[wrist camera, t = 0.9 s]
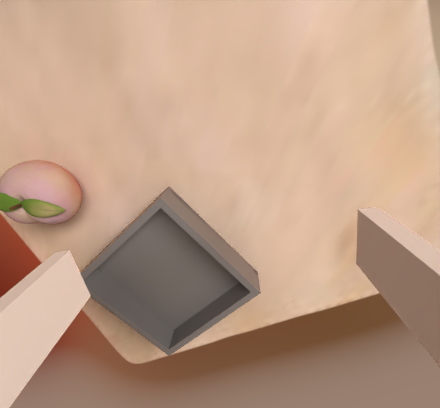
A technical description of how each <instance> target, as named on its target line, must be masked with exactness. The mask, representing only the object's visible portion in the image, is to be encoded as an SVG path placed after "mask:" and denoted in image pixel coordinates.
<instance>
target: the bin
mask: <svg viewBox="0 0 440 408" xmlns="http://www.w3.org/2000/svg"><path fill="white" fill-rule="evenodd" d="M80 274H81V276H82V278H83V280H84V282H85V285H86V287H87V289H88V291H89V293H90V296H91V297H92V298H93V299H94V300H96V301H97V302H98V303H100V304H101V305H102V306H104V307H105V308H106V309H108V310H109V311H110V312H112V313H113V314H114V315H116V316H117V317H118V318H120V319H121V320H122V321H124V322H125V323H126V324H128V325H129V326H130V327H132V328H133V329H134V330H136V331H137V332H138V333H140V334H141V335H142V336H144V337H145V338H146V339H148V340H149V341H150V342H151V343H153V344H154V345H155V346H157V347H158V348H159V349H161V350H162V351H163V352H165V353H166V354H167V355H171V354H172V353H174V352H175V351H177V350H178V349H180V348H181V347H183V346H184V345H185V344H187V343H188V342H190V341H191V340H193V339H194V338H196V337H197V336H199V335H200V334H202V333H203V332H204V331H206V330H207V329H209V328H210V327H212V326H213V325H215V324H216V323H218V322H219V321H220V320H222V319H223V318H225V317H226V316H228V315H229V314H231V313H232V312H234V311H235V310H236V309H238V308H239V307H241V306H242V305H244V304H245V303H247V302H248V301H250V300H251V299H252V298H254V297H255V296H257V295H258V294H260V293H261V292H260V285H259V279H258V273H257V271H256V270H255V269H254V268H253V267H252V266H251V265H250V264H249V263H248V262H247V261H245V260H244V259H243V258H242V257H241V256H240V255H239V254H238V253H237V252H236V251H235V250H234V249H233V248H232V247H231V246H230V245H229V244H228V243H227V242H226V241H225V240H224V239H223V238H222V237H221V236H220V235H219V234H218V233H217V232H216V231H215V230H214V229H212V228H211V227H210V226H209V225H208V224H207V223H206V222H205V221H204V220H203V219H202V218H201V217H200V216H199V215H198V214H197V213H196V212H195V211H194V210H193V209H192V208H191V207H190V206H189V205H188V204H187V203H186V202H185V201H184V200H183V199H182V198H181V197H179V196H178V195H177V194H176V193H175V192H174V191H173V190H172V189H171V188H170V187H168V188H167V189H166V190H165V191H164V192H163V193H162V194H161V195H160V196H159V197H158V198H157V199H156V200H155V201H154V202H153V203H151V204H150V205H149V206H148V207H147V208H146V209H145V210H144V211H143V212H142V213H141V214H140V215H139V216H138V217H137V218H136V219H135V220H134V221H133V222H132V223H131V224H130V225H129V226H128V227H127V228H126V229H125V230H123V231H122V232H121V233H120V234H119V235H118V236H117V237H116V238H115V239H114V240H113V241H112V242H111V243H110V244H109V245H108V246H107V247H106V248H105V249H104V250H103V251H102V252H101V253H100V254H99V255H98V256H96V257H95V258H94V259H93V260H92V261H91V262H90V263H89V264H88V265H87V266H86V268H85V269H84V270H83V271H82V272H81V273H80Z"/></svg>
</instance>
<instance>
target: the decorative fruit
mask: <svg viewBox="0 0 440 408" xmlns="http://www.w3.org/2000/svg"><path fill="white" fill-rule="evenodd" d="M81 202H82V190H81V187H80V185H79V183H78V181H77V180H76V178H75V177H74V176H73V175H72V174H71V173H70V172H69V171H67V170H66V169H65V168H63V167H61V166H59V165H58V164H55V163H52V162H48V161H40V160H34V161H27V162H23V163H20V164H18V165H15V166H13V167H11V168H10V169H9V170H7V171H6V172H5V173H4V174H3V176H2V177H1V179H0V210H1V211H4V213H5V214H6V215H7V216H8V217H10V218H11V219H13V220H14V221H17V222H20V223H25V224H33V223H38V222H41V223H46V224H58V223H62V222H65V221H67V220H69V219H71V218H72V217H73V216H74V215H75V214H76V213H77V211H78V210H79V208H80V206H81Z"/></svg>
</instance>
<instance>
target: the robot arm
mask: <svg viewBox="0 0 440 408" xmlns="http://www.w3.org/2000/svg"><path fill="white" fill-rule="evenodd" d="M356 264H357V265H358V266H359V268H360V269H361V270H362V271H363V273H364V274H365V275H366V276H367V277H368V279H369V280H370V281H371V282H372V284H373V285H374V286H375V287H376V289H377V290H378V291H379V292H380V294H381V295H382V296H383V297H384V299H385V300H386V301H387V302H388V304H389V305H390V306H391V307H392V309H393V310H394V311H395V312H396V313H397V314H398V316H399V317H400V319H401V320H402V321H403V322H404V323H405V325H406V326H407V327H408V328H409V330H410V331H411V332H412V333H413V335H414V336H415V337H416V338H417V340H418V341H419V342H420V343H421V344H422V346H423V347H424V348H425V350H426V351H427V352H428V353H429V355H430V356H431V357H432V358H433V360H434V361H435V362H436V363H437V365H438V366H439V367H440V249H438V248H437V247H435V246H434V245H432V244H431V243H429V242H428V241H426V240H425V239H424V238H422V237H421V236H419V235H418V234H416V233H415V232H413V231H412V230H410V229H409V228H407V227H406V226H405V225H403V224H402V223H400V222H399V221H397V220H396V219H394V218H393V217H391V216H390V215H388V214H387V213H386V212H384V211H383V210H381V209H380V208H378V207H370V208H363V209H358V222H357V261H356ZM89 298H90V293H89V291H88V289H87V287H86V285H85V282H84V280H83V278H82V276H81V274H80V272H79V269H78V267H77V265H76V263H75V261H74V259H73V256H72V254H71V252H70V250H68V251H61V252H55V253H53V254H52V255H51V256H50V257H49V258H48V259H46V260H45V261H44V262H43V263H42V264H40V265H39V266H38V267H37V268H36V269H34V270H33V271H32V272H31V273H30V274H28V275H27V276H26V277H25V278H24V279H23V280H21V281H20V282H19V283H18V284H17V285H15V286H14V287H13V288H12V289H11V290H9V291H8V292H7V293H6V294H5V295H3V296H2V297H1V298H0V408H9V407H10V406H11V405H12V403H13V402H14V400H15V399H16V398H17V396H18V395H19V394H20V392H21V391H22V390H23V388H24V387H25V385H26V384H27V383H28V381H29V380H30V378H31V377H32V376H33V374H34V373H35V372H36V370H37V369H38V368H39V366H40V365H41V363H42V362H43V361H44V359H45V358H46V357H47V355H48V354H49V352H50V351H51V350H52V348H53V347H54V346H55V344H56V343H57V342H58V340H59V339H60V337H61V336H62V335H63V333H64V332H65V331H66V329H67V328H68V327H69V325H70V324H71V322H72V321H73V320H74V318H75V317H76V316H77V314H78V313H79V311H80V310H81V309H82V307H83V306H84V305H85V303H86V302H87V301H88V299H89Z"/></svg>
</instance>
